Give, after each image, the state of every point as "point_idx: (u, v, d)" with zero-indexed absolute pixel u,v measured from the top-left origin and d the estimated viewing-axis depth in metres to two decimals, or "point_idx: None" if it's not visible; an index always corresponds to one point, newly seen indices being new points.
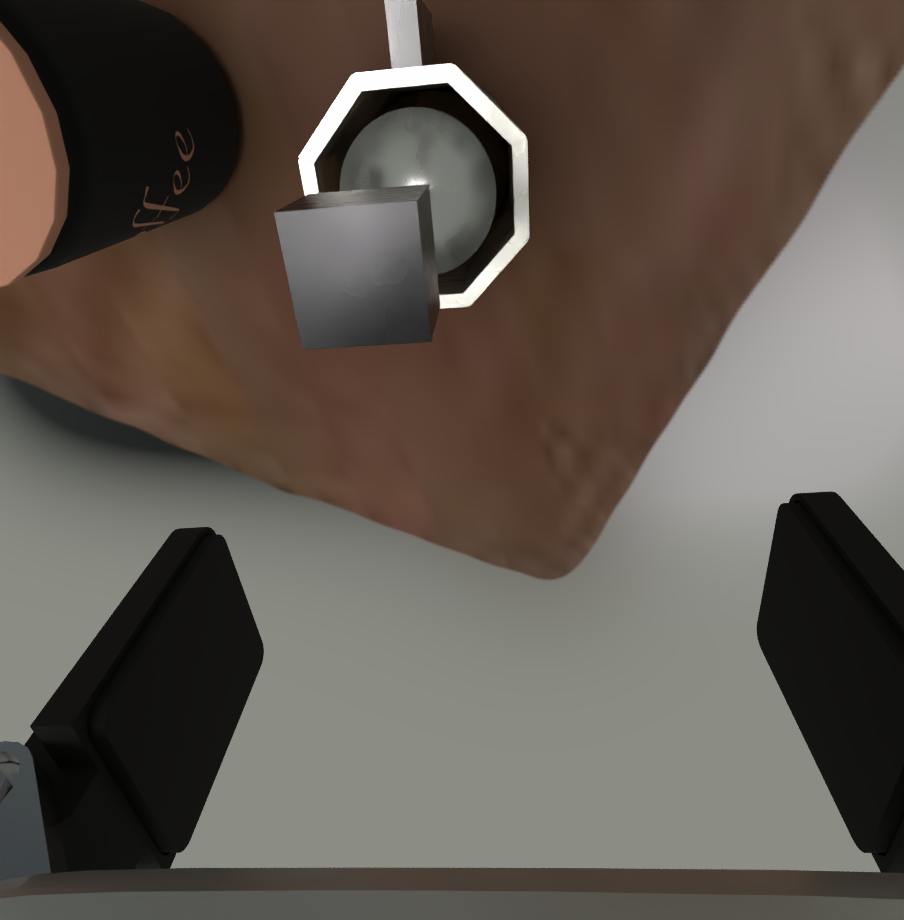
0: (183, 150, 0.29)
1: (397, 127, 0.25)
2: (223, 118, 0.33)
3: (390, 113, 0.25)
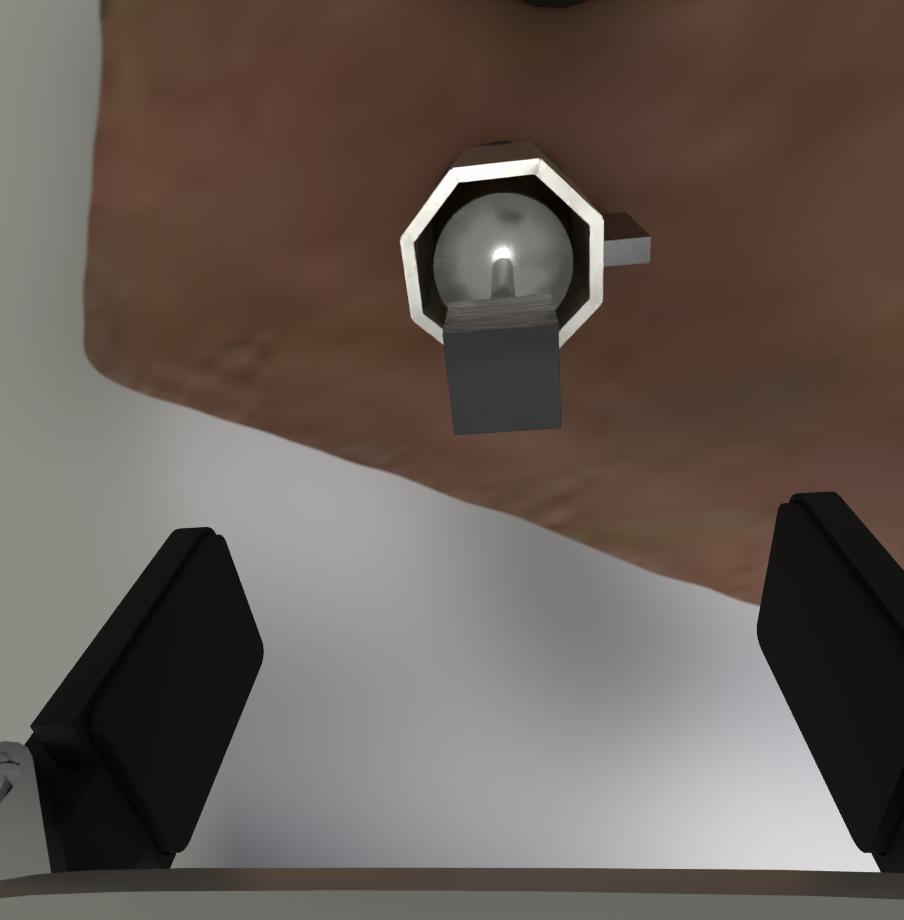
0: None
1: (559, 251, 0.29)
2: (558, 2, 0.31)
3: (569, 245, 0.29)
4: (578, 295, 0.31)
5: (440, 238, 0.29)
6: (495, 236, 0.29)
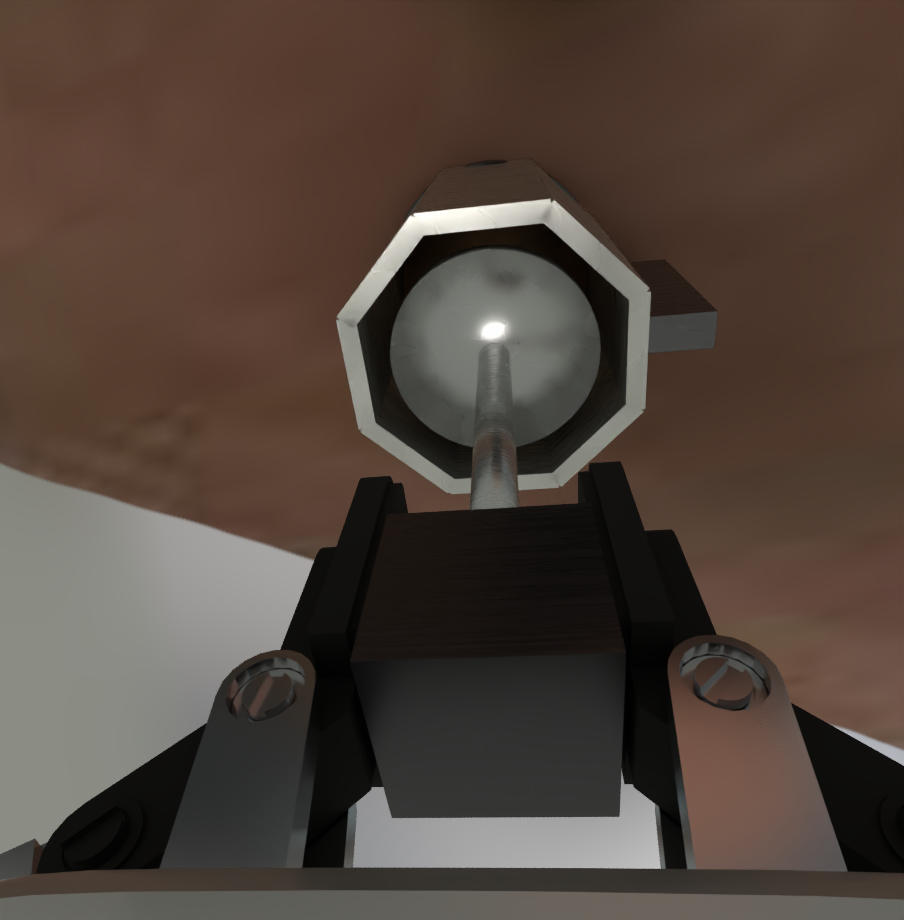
0: None
1: (579, 334, 0.19)
2: None
3: (595, 326, 0.19)
4: (605, 390, 0.21)
5: (399, 315, 0.19)
6: (482, 313, 0.19)
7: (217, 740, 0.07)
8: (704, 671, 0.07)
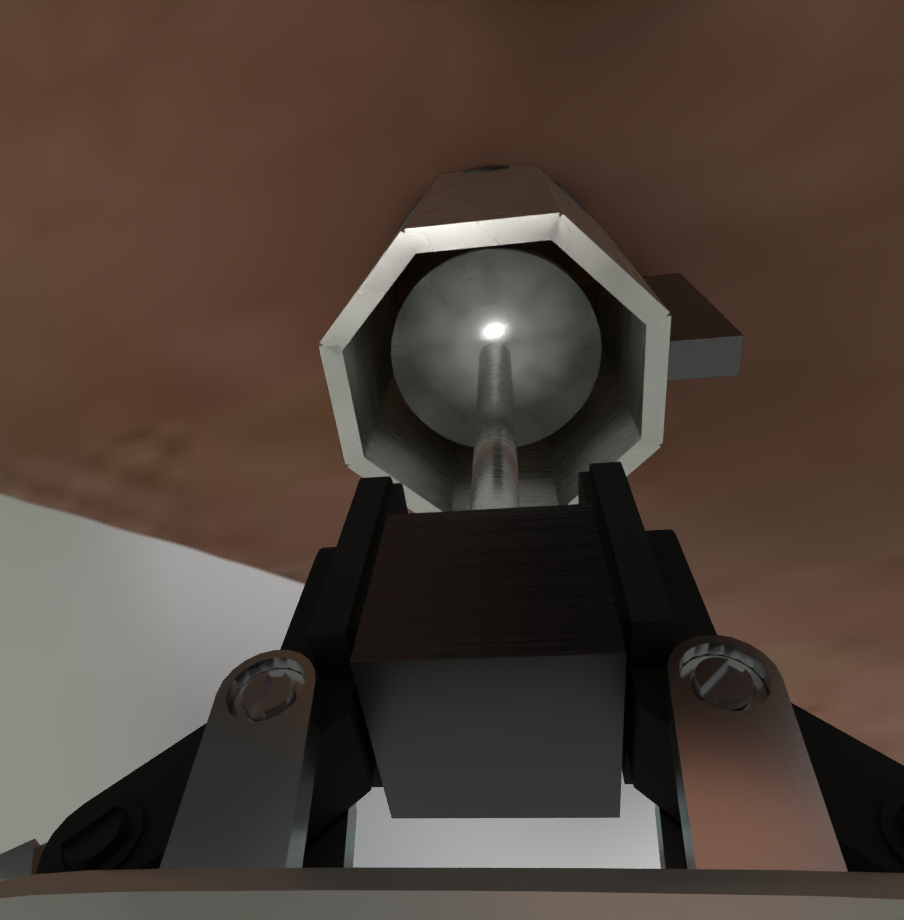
0: None
1: (580, 335, 0.19)
2: None
3: (596, 326, 0.19)
4: (617, 420, 0.19)
5: (400, 315, 0.19)
6: (483, 313, 0.19)
7: (217, 740, 0.07)
8: (704, 671, 0.07)
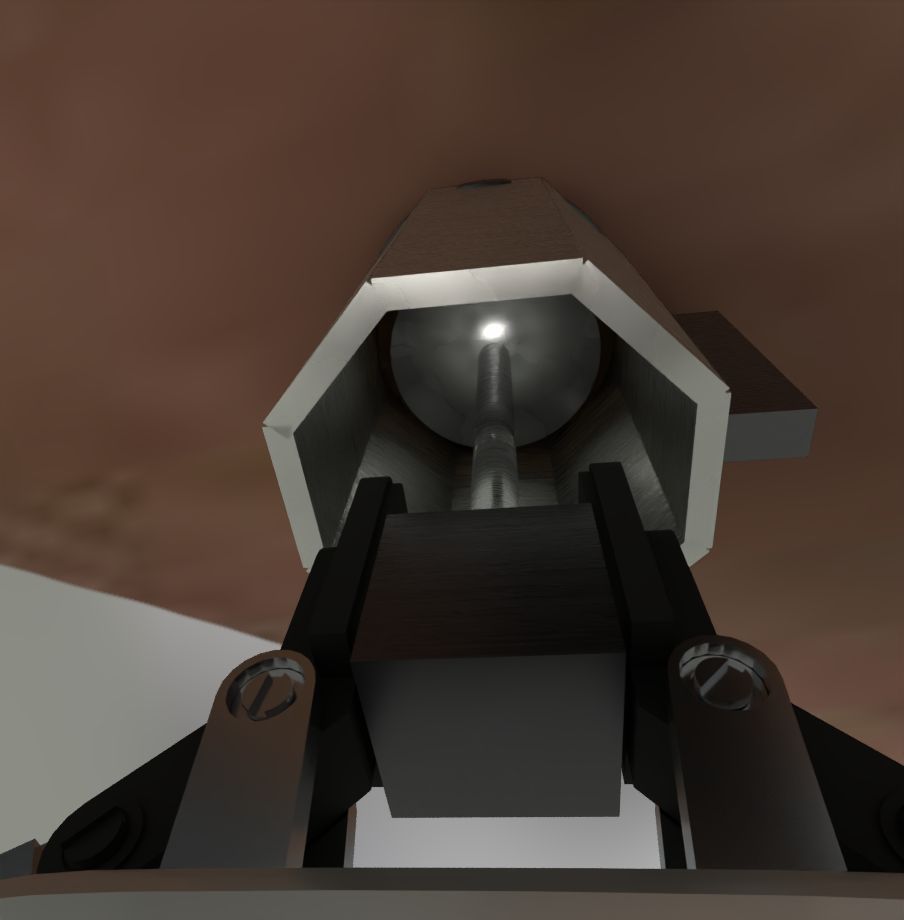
0: None
1: (579, 334, 0.19)
2: None
3: (596, 326, 0.19)
4: (649, 506, 0.15)
5: (399, 315, 0.19)
6: (483, 313, 0.19)
7: (217, 740, 0.07)
8: (704, 671, 0.07)
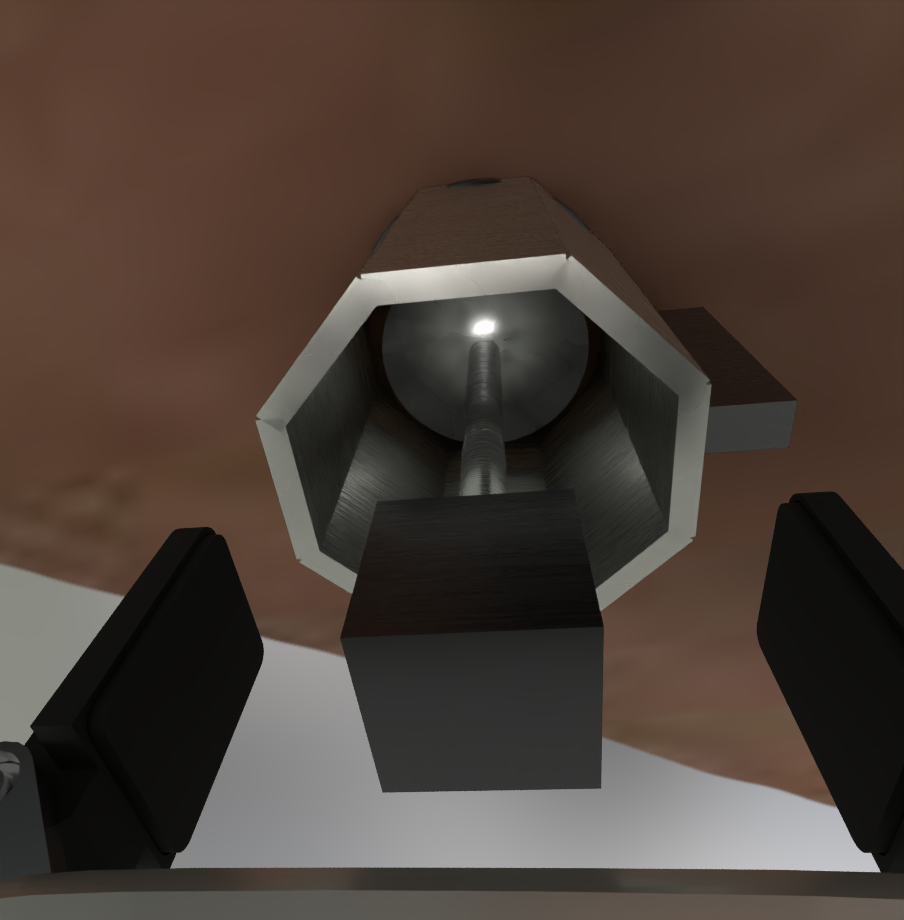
0: None
1: (568, 330, 0.20)
2: None
3: (583, 322, 0.19)
4: (635, 497, 0.16)
5: (391, 312, 0.20)
6: (473, 309, 0.19)
7: None
8: None
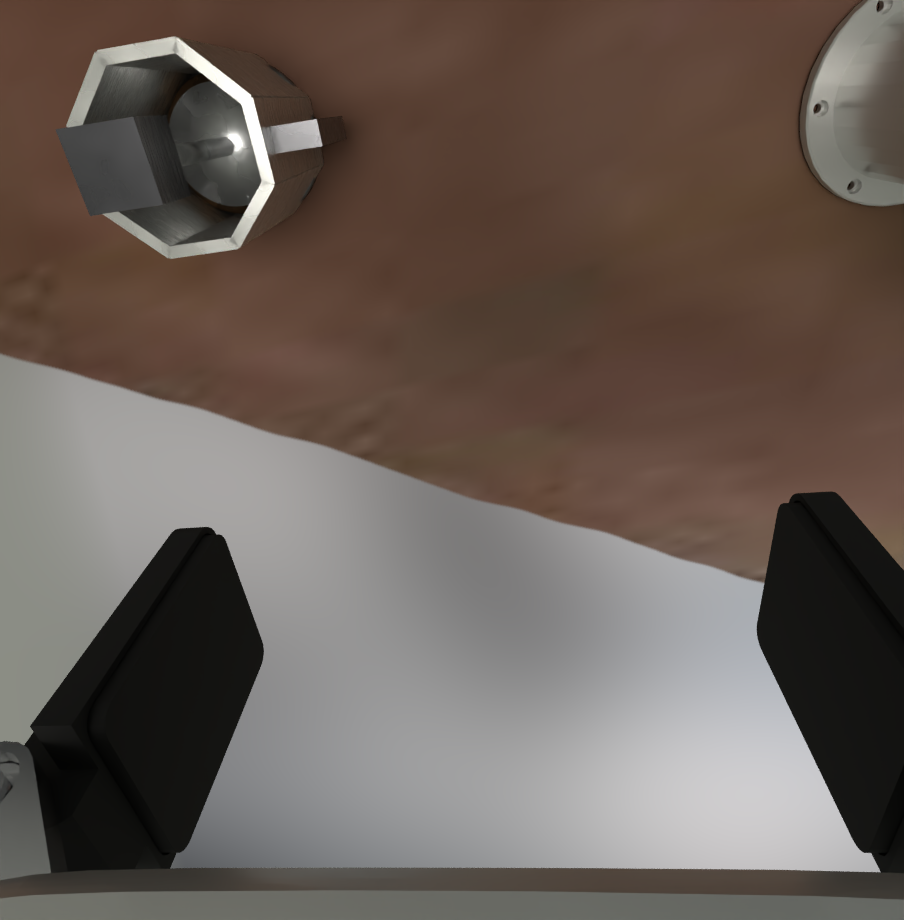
0: None
1: None
2: None
3: None
4: None
5: (170, 122, 0.36)
6: (213, 118, 0.36)
7: None
8: None
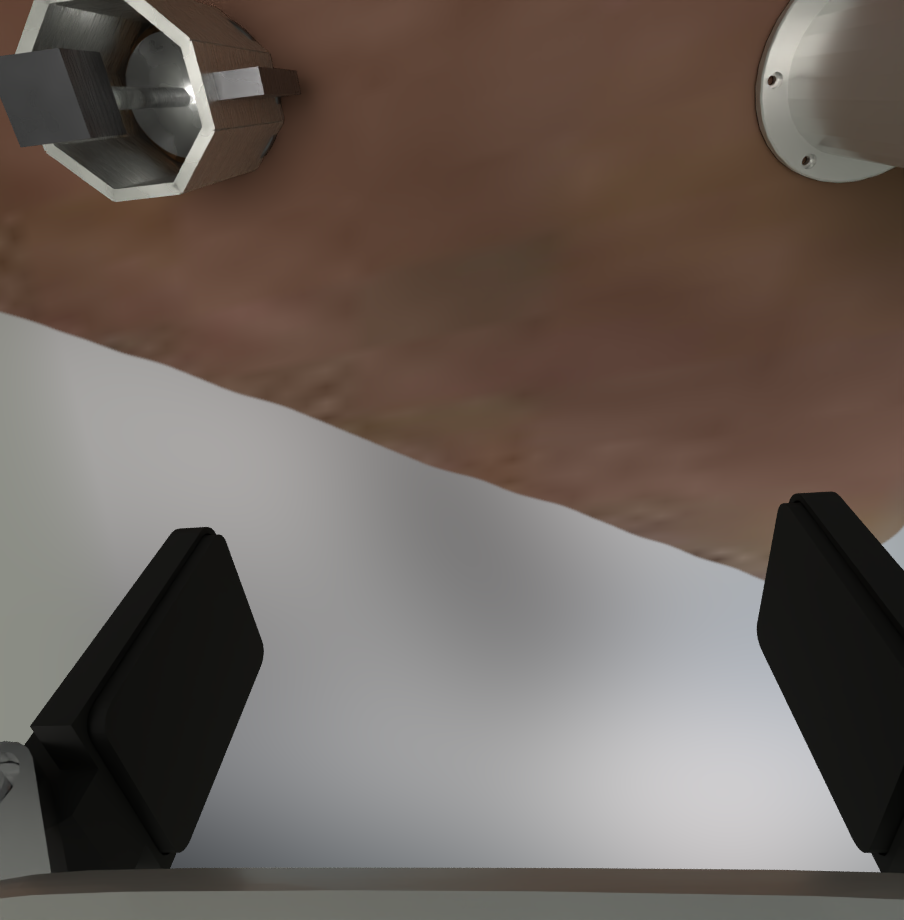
0: None
1: None
2: None
3: None
4: None
5: (127, 71, 0.37)
6: (169, 68, 0.37)
7: None
8: None
